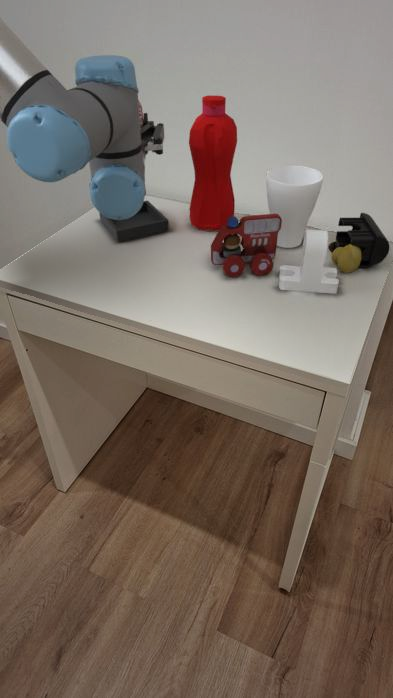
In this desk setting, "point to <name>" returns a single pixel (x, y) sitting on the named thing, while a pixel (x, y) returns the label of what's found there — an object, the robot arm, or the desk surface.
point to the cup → (292, 200)
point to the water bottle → (212, 165)
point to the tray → (137, 224)
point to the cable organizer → (310, 267)
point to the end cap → (364, 239)
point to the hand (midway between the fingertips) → (126, 121)
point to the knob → (347, 258)
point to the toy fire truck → (247, 244)
